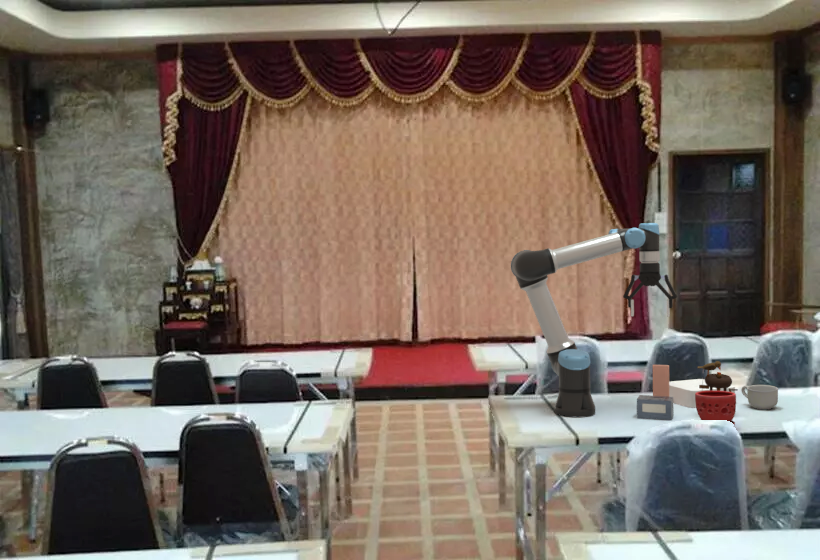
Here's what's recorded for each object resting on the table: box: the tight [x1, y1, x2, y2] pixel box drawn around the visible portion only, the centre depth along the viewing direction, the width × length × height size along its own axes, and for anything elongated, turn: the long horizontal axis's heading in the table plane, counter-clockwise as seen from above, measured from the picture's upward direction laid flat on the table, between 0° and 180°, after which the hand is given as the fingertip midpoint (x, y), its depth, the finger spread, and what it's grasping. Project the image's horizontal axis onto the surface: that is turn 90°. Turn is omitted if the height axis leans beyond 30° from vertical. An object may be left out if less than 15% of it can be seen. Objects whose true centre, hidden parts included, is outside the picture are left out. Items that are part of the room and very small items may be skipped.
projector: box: [669, 378, 736, 409], centre depth 311 cm, size 21×22×7 cm
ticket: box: [652, 364, 670, 397], centre depth 304 cm, size 6×2×16 cm, turn 66°
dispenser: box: [636, 394, 675, 421], centre depth 285 cm, size 12×8×7 cm
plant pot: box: [695, 391, 737, 426], centre depth 268 cm, size 13×13×12 cm
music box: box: [696, 360, 739, 407], centre depth 287 cm, size 15×11×20 cm
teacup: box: [740, 384, 779, 410], centre depth 297 cm, size 14×11×8 cm
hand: (650, 316), depth 307 cm, fingers open, 13 cm apart
